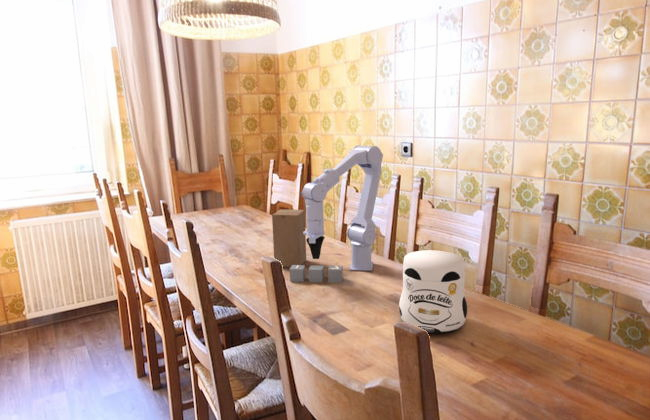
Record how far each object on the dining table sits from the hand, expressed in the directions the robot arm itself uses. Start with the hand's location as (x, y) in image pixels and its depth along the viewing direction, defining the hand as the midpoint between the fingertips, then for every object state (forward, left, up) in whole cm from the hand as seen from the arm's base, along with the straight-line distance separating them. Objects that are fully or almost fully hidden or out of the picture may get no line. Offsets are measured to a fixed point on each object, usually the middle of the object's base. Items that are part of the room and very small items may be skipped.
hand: (316, 258), depth 154 cm
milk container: (+31, +35, -8) cm, 48 cm away
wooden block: (-17, -13, -8) cm, 22 cm away
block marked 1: (0, -7, -8) cm, 10 cm away
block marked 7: (0, +6, -8) cm, 10 cm away
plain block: (0, 0, -8) cm, 8 cm away
